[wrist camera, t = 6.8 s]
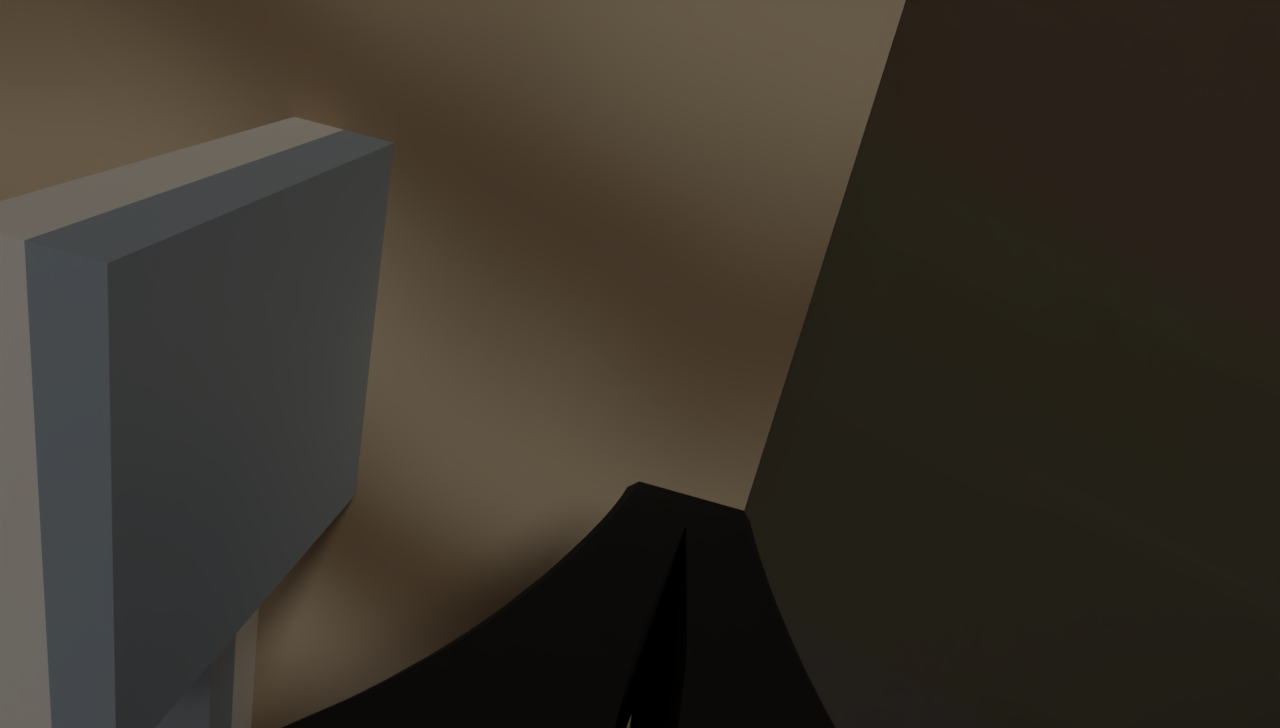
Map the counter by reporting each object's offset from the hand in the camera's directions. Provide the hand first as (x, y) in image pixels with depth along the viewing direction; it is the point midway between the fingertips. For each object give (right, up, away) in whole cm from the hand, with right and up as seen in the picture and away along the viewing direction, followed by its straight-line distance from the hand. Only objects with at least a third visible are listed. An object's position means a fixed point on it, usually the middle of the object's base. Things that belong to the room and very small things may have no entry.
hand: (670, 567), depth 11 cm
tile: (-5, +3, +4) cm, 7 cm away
